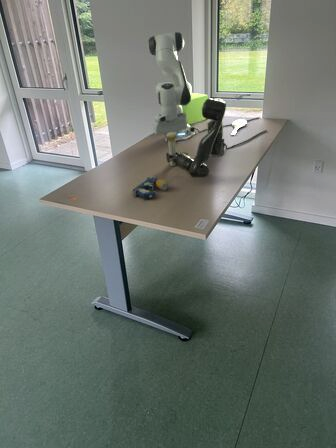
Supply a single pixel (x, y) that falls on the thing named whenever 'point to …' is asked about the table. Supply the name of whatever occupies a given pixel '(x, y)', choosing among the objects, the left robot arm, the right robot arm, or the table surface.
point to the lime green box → (194, 108)
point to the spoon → (238, 125)
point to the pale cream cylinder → (172, 150)
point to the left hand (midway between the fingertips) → (171, 139)
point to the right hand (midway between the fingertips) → (170, 153)
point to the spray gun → (149, 187)
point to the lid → (171, 137)
